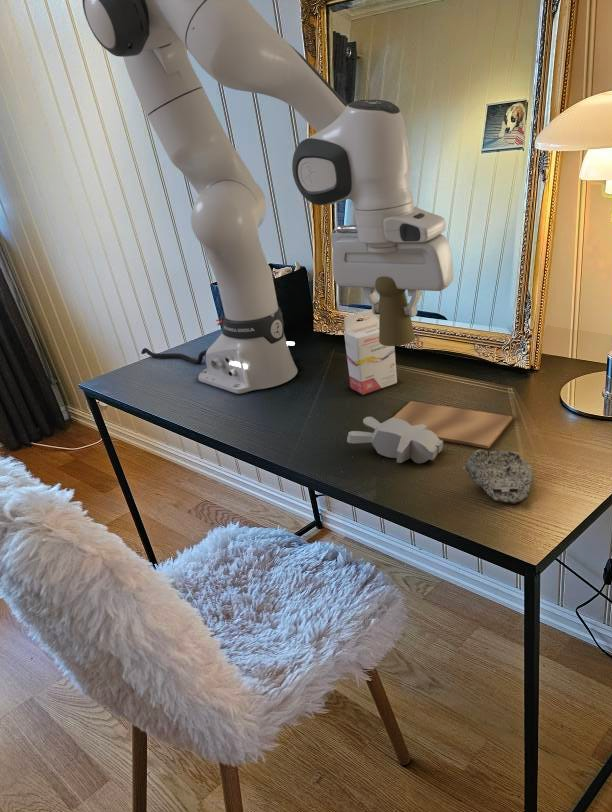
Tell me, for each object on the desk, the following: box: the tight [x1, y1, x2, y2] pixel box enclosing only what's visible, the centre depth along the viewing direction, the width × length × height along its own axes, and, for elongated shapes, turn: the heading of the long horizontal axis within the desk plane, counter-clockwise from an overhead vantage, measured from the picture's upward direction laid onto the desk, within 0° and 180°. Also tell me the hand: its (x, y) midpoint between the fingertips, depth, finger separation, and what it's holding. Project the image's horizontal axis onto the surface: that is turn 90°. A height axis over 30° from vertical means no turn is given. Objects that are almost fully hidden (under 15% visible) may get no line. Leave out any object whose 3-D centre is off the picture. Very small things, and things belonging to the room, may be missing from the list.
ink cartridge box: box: [343, 308, 398, 395], centre depth 127 cm, size 9×5×15 cm, turn 122°
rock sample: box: [462, 449, 537, 505], centre depth 94 cm, size 10×8×9 cm
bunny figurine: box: [346, 416, 444, 464], centre depth 107 cm, size 10×5×15 cm
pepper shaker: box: [375, 277, 416, 347], centre depth 105 cm, size 6×6×11 cm
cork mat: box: [392, 400, 514, 450], centre depth 114 cm, size 20×11×1 cm, turn 59°
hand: (395, 314), depth 106 cm, fingers closed on pepper shaker, 4 cm apart
